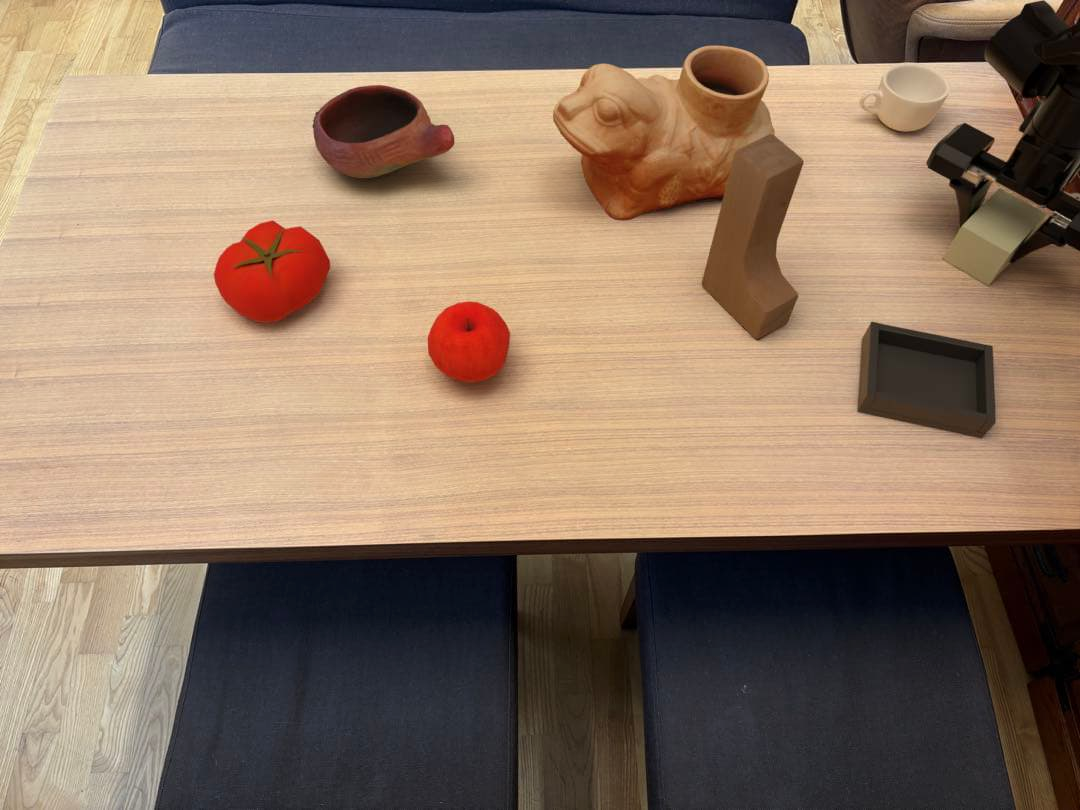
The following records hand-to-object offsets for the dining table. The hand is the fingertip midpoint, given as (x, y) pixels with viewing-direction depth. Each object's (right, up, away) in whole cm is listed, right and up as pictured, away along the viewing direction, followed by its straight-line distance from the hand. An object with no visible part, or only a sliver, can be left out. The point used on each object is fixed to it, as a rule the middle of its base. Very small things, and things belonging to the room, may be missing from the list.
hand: (987, 246), depth 92 cm
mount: (-11, -15, -9) cm, 21 cm away
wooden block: (-27, -7, -3) cm, 28 cm away
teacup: (-5, +18, +13) cm, 23 cm away
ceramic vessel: (-35, +10, +7) cm, 37 cm away
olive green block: (0, -1, +1) cm, 1 cm away
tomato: (-75, -5, -3) cm, 76 cm away
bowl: (-66, +11, +8) cm, 68 cm away
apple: (-55, -14, -8) cm, 57 cm away
